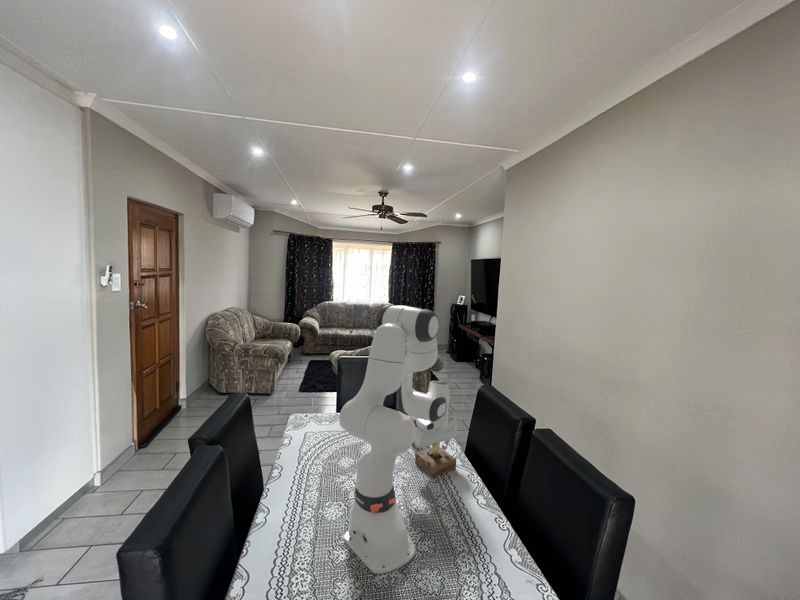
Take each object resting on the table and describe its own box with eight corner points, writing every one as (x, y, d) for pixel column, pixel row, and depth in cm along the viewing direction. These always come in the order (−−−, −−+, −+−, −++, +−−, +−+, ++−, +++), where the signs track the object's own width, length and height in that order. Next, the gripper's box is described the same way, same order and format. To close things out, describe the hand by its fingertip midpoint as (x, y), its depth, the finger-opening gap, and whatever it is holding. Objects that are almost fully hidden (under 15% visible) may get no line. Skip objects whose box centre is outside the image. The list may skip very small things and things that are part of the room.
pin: (440, 464, 136) (441, 440, 135) (434, 465, 134) (435, 442, 134) (436, 460, 138) (437, 437, 138) (430, 461, 137) (431, 438, 136)
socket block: (455, 468, 135) (456, 459, 134) (432, 477, 128) (432, 467, 128) (437, 454, 145) (438, 445, 144) (415, 461, 138) (415, 452, 138)
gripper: (451, 411, 143) (450, 442, 144) (412, 421, 132) (411, 454, 133) (461, 417, 138) (459, 449, 139) (421, 427, 127) (420, 462, 128)
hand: (435, 451), depth 136 cm, fingers open, 8 cm apart
